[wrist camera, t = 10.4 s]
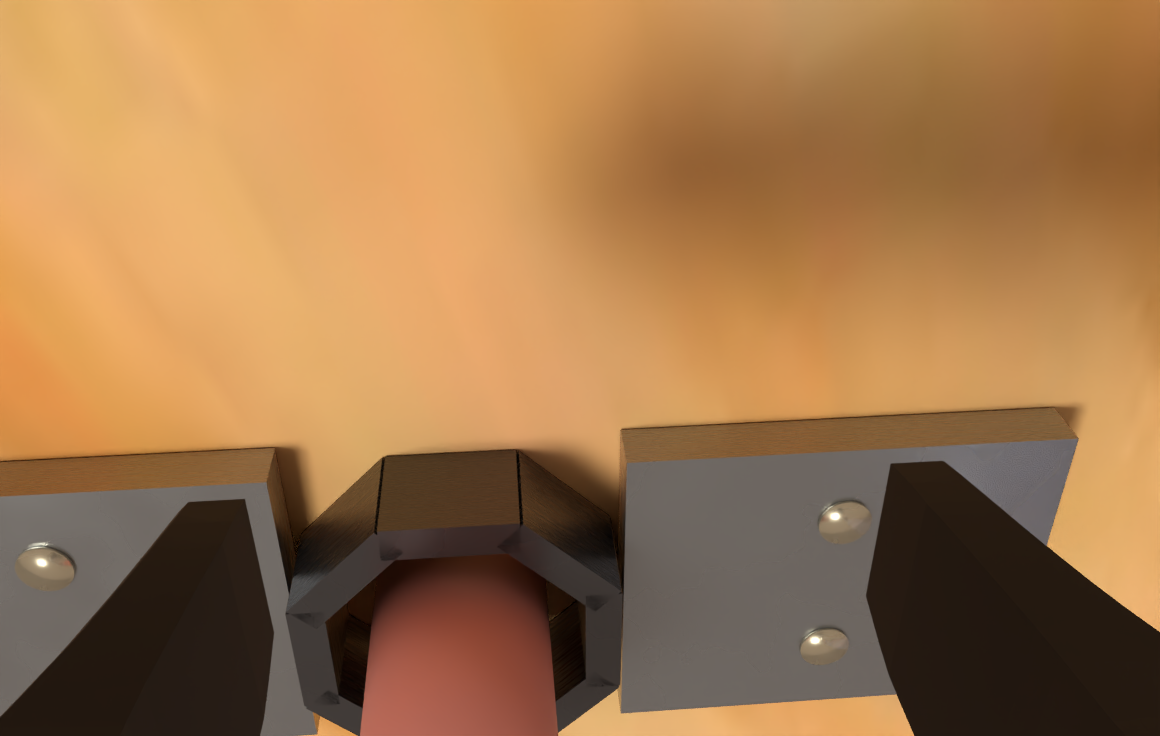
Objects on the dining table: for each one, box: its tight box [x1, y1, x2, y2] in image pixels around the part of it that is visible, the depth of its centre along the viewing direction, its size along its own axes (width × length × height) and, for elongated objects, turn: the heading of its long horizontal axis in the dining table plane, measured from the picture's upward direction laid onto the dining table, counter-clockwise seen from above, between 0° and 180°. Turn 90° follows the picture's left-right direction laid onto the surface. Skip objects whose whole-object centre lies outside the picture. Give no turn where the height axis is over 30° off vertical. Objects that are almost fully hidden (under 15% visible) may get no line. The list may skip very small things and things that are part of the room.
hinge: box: [0, 408, 1078, 736], centre depth 25 cm, size 8×28×2 cm, turn 90°
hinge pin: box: [360, 554, 558, 736], centre depth 23 cm, size 4×4×8 cm
